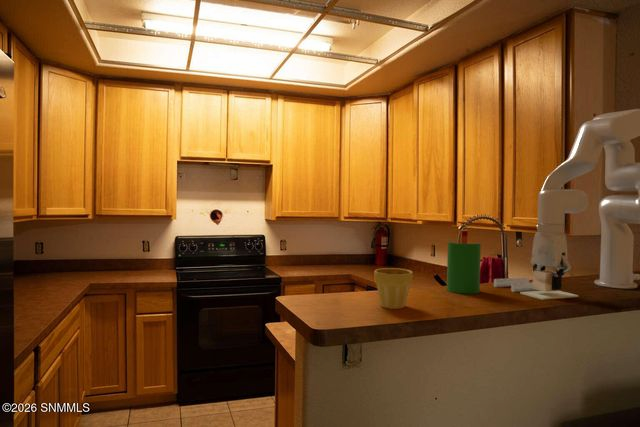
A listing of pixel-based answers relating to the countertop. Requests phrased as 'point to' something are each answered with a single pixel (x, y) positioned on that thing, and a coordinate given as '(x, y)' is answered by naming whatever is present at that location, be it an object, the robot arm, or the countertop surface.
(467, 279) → the green cylinder
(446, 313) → the countertop surface
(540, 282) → the plug block
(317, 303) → the countertop surface
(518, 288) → the housing channel
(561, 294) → the pad
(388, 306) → the plant pot
